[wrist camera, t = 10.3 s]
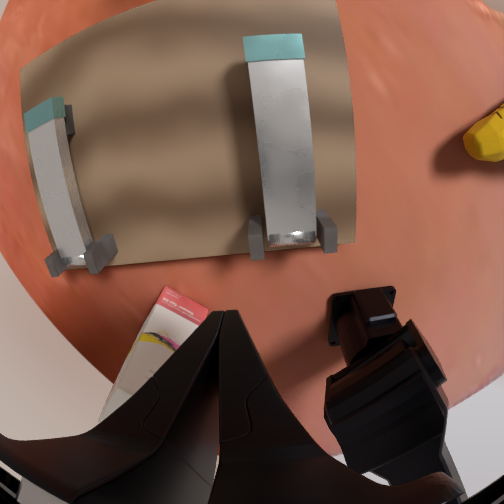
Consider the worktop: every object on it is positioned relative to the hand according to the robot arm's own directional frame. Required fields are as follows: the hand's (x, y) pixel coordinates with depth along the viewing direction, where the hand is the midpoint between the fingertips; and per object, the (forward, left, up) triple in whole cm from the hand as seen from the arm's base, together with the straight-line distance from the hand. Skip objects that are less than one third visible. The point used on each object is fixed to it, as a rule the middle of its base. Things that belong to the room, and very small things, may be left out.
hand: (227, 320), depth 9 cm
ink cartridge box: (-11, +9, -13) cm, 19 cm away
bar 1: (+5, +13, -10) cm, 17 cm away
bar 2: (+5, -3, -10) cm, 11 cm away
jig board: (+7, +5, -13) cm, 16 cm away
